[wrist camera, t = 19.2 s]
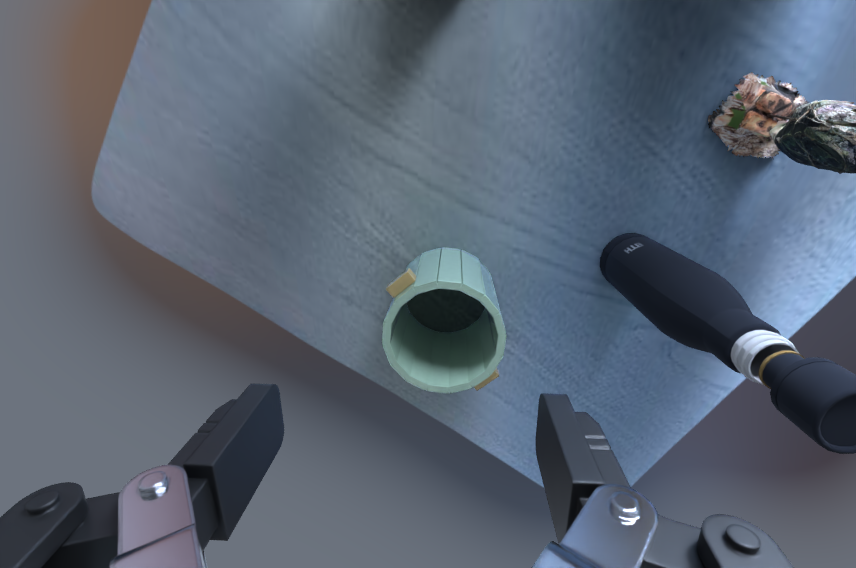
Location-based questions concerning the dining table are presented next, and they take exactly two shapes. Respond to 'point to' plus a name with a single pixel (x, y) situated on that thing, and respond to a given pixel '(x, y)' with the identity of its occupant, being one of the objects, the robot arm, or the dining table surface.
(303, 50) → the dining table surface
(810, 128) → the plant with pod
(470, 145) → the dining table surface
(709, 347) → the wine bottle
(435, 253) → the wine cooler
